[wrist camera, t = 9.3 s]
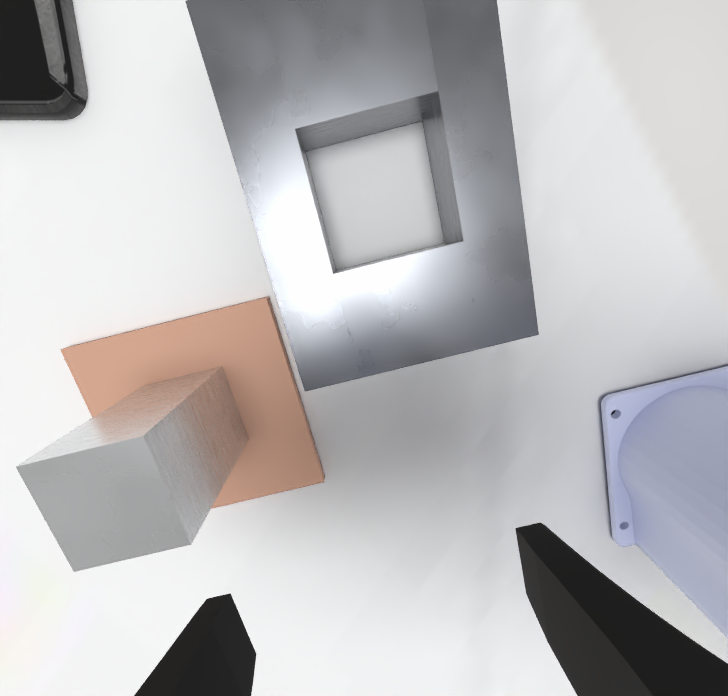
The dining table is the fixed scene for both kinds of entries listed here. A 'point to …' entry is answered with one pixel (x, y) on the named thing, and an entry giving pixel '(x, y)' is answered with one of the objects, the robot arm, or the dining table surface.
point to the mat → (245, 376)
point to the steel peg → (139, 470)
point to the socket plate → (360, 118)
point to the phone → (40, 61)
